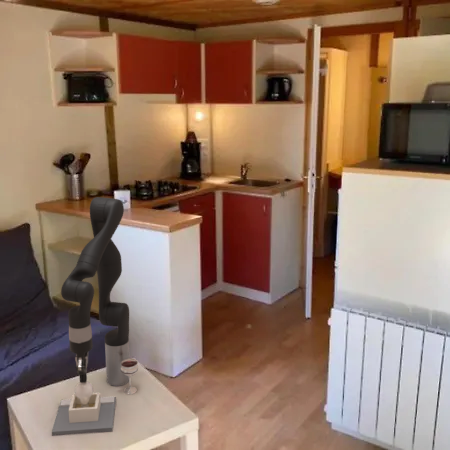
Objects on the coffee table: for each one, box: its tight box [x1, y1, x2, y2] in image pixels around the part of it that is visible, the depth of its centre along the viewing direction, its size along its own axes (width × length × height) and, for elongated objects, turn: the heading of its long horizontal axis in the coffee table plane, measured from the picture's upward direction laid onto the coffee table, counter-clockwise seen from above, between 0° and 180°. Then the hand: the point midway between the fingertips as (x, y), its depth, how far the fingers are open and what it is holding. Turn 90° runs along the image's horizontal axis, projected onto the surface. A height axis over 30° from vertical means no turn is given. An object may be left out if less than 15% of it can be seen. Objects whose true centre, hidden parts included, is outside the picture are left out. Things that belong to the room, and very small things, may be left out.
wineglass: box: [120, 357, 139, 395], centre depth 198 cm, size 7×7×12 cm
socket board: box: [51, 392, 117, 436], centre depth 183 cm, size 18×20×6 cm
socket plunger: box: [76, 403, 95, 408], centre depth 183 cm, size 7×7×2 cm
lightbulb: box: [74, 380, 94, 408], centre depth 182 cm, size 6×6×11 cm
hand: (83, 381), depth 180 cm, fingers closed
